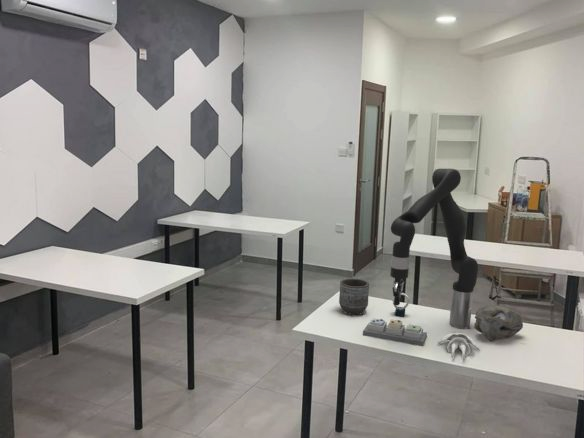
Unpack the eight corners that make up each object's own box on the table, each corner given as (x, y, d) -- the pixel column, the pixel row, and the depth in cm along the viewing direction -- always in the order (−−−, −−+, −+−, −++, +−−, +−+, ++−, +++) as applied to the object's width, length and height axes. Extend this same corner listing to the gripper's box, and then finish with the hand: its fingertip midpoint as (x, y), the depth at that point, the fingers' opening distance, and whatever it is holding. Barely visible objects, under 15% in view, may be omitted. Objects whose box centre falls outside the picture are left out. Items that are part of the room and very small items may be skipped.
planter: (336, 314, 250) (338, 285, 247) (340, 305, 264) (342, 276, 261) (365, 318, 247) (367, 288, 244) (368, 308, 260) (370, 279, 258)
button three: (384, 327, 231) (384, 319, 230) (381, 331, 226) (382, 323, 226) (373, 325, 233) (373, 317, 232) (370, 329, 228) (370, 321, 227)
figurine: (480, 365, 201) (478, 342, 224) (482, 345, 200) (480, 323, 223) (435, 358, 206) (438, 336, 230) (437, 338, 205) (440, 317, 228)
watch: (392, 311, 256) (393, 290, 254) (408, 314, 254) (410, 292, 252) (390, 315, 251) (392, 294, 249) (407, 318, 249) (409, 296, 247)
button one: (420, 333, 225) (420, 325, 224) (418, 338, 220) (419, 329, 220) (408, 331, 227) (409, 323, 226) (406, 335, 222) (407, 327, 222)
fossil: (466, 335, 230) (469, 303, 227) (496, 326, 242) (500, 296, 239) (494, 347, 218) (497, 314, 215) (524, 337, 230) (528, 305, 227)
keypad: (426, 336, 227) (427, 327, 226) (422, 346, 217) (423, 336, 216) (369, 326, 237) (369, 317, 236) (362, 335, 227) (363, 325, 226)
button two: (402, 328, 228) (402, 320, 227) (399, 332, 223) (400, 324, 222) (390, 326, 230) (391, 318, 229) (388, 330, 225) (389, 322, 224)
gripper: (405, 271, 214) (402, 311, 217) (411, 263, 226) (408, 301, 229) (387, 268, 217) (384, 307, 220) (394, 261, 229) (391, 298, 232)
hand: (396, 304), depth 224 cm, fingers closed
